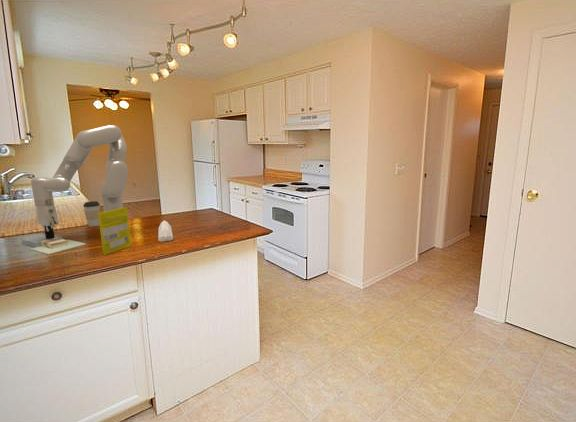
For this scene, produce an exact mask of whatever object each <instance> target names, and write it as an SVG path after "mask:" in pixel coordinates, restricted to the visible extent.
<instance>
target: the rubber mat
mask: <svg viewBox="0 0 576 422" xmlns="http://www.w3.org/2000/svg"><path fill="white" fill-rule="evenodd" d="M67 240H68V245H66V246H62V247H58V248H54V249H51V248H47V247H44V246H39V247H32V248H30V250H31V251H35V252H39V253H42V254H45V255H53V254H56V253H59V252H63V251H67V250H70V249H71V250H72V249H75V248H78V247H82V246H87V243H84V242H80V241H76V240H73V239H67Z"/></svg>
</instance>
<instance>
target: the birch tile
mask: <svg viewBox="0 0 576 422" xmlns="http://www.w3.org/2000/svg"><path fill="white" fill-rule="evenodd" d="M41 245H42V246H44V247H47V248H51V249H54V248H58V247H62V246H66V245H68V239H64V238H63V239H61V238H52V239H48V240H44V241H41Z"/></svg>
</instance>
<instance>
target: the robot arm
mask: <svg viewBox="0 0 576 422" xmlns="http://www.w3.org/2000/svg"><path fill="white" fill-rule="evenodd" d="M122 133H123V132H122V130H121V128H119V127H118V126H117V125H115V124H107V125H104V126H99V127H96V128H90V129H85V130H82V131H80V132H78V133H77V134H76V137H75V138H74V139H73V141H72V144H71V145H70V146H69V149H68V150H67V152H66V153H65V155H64V157H63V159H62V161H61V163H60V164H59V166H58V167H57V169H56V171H55V173H54V175H53V176H52V177H41V176H40V177H33V178H32V179H30V183H31V190H32V191H31V192H32V196H33V202H34V207H35V208H36V217H37V223H38V224H39V225H41V227H42V228H43V231H44V234H45V237H46V239H51V238H54V235H55V232H54V230H55V228H56V225H58V224H59V218H58V212H57V210H56V207H55V201H54V195H53V192H56V193H58V192H59V193H62V192H63V193H64V192H67V191H68V190H70V188H71V181H72V179H73V178H74V176H75V174H76V173H77V171H78V170H79V169H80V168H81V167H82V166H83V165H84V164H85V162H86V161H87V159H88V157H89V156H90V153H91V152H92V150H93V148H95V147H100V146H103V145H107V144H108V154H107V160H106V162H105V166H104V167H105V168H104V169H105V170H104V171H105V172H106V176H105V179H104V180H103V181H102V182H101V184H100V188H99V190H100V194H101V199H102V207H103V212H105V211H110V210H115V209H119V208H124V203H123V198H122V195H124V192H125V189H126V186H127V180H128V175H129V174H128V173H129V168H128V165H127V164H126V159H127V151H128V146H127V142H126V141H125V140H126V139H125V138H124V136H123V135H122Z"/></svg>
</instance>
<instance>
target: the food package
mask: <svg viewBox="0 0 576 422" xmlns="http://www.w3.org/2000/svg"><path fill="white" fill-rule="evenodd" d="M98 218H99V225H98V227H99V230H100V231H99V232H100V241H101V247H102V249H101V250H102V255H103V256H107V255H109V254H111V253H114V252H117V251H120V250H124V249H126V248H129V247H131V246H132V243H131V232H130V225H129V213H128V206H123V208H119V209H115V210H110V211H105V212H104V211H100V213H98Z"/></svg>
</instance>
